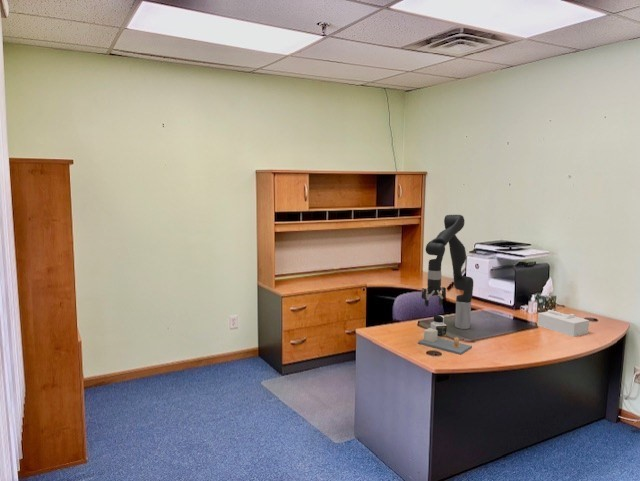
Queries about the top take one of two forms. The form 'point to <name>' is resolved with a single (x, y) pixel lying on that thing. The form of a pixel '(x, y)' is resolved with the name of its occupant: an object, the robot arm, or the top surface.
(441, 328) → the medicine bottle
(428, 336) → the beige cube block
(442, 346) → the board
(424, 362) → the top surface
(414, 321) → the top surface
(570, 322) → the tissue box
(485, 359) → the top surface
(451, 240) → the robot arm
